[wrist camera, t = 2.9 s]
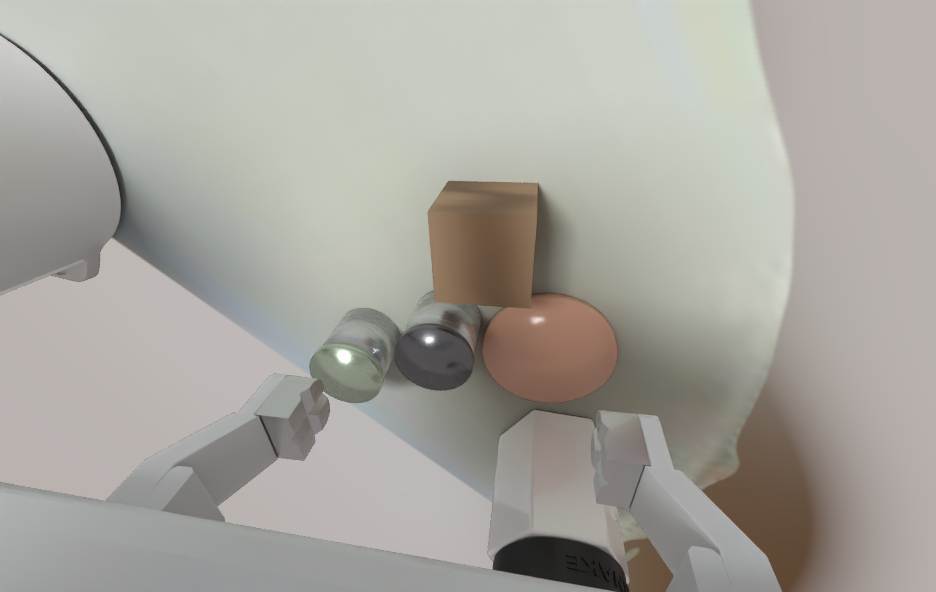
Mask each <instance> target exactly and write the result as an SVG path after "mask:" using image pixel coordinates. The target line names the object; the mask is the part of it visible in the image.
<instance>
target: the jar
mask: <svg viewBox="0 0 936 592" xmlns="http://www.w3.org/2000/svg"><path fill="white" fill-rule="evenodd" d="M595 428H596V427H595V425H594V423H593V421H592V420H591V419H588V418H582V417H576V416H570V415H564V414H558V413H552V412H546V411H540V410H532V411H531V412H530V413H529V414H527V415H526V416H525V417H524V418H522V419H521V420H520V421H519V422H517V423H516V424H515V425H514V426H512V427H511V428H510V429H509V430H507V431H506V432H505V433H504V434H502V435H501V436H500V438H499V446H498V456H497V465H496V475H495V485H494V494H493V504H492V514H491V523H490V533H489V543H488V556H489V557H490V558H491V560H492V561H493V570H496V571H502V572H508V573H513V574H519V575H524V576H530V577H536V578H541V579H547V580H552V581H558V582H564V583H569V584H575V585H581V586H586V587H592V588H598V589H603V590H609V591H614V592H629V587H628V586H627V584H628V583H629V575H628V569H627V563H626V557H625V551H624V545H623V539H622V533H621V527H620V521H619V515H618V509H617V507H614V506H609V505H603V504H597V503H596V498H595V489H594V481H593V479H594V475H595V471H596V469H595V468H594V467H593V466H592V462H591V438H592V432H593V430H594V429H595Z"/></svg>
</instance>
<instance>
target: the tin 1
mask: <svg viewBox="0 0 936 592" xmlns="http://www.w3.org/2000/svg"><path fill="white" fill-rule="evenodd" d="M399 339H400V333H399V330H398V328H397V326H396V325H395V324H394V322H393V321H392V320H391V319H390V318H389V317H387V316H386V315H384V314H383V313H381V312H379V311H376V310H373V309H369V308H357V309H353V310H351V311H349V312H348V313H347V314H345V316H344V317H343V318H342V320H341V321H340V322H339V324H338V325H337V326H336V328H335V329H334V331H333V332H332V333H331V335H330V336H329V338H328V339H327V340H326V342H325V343H324V344H323V346H321V347H320V348H319V349H318V350H317V351H316V353H315V354H314V355H313V357H312V359H311V361H310V365H309V368H310V374H311V376H312V378H314V379H319V380H322V381H323V384H324V387H325V389H324V390H323V391H324V392H326V393H327V394H329V395H330V396H332V397H334V398H336V399H338V400H341V401H345V402H350V403H362V402H367V401H369V400H371V399H373V398H374V397H375V396H376V395H377V394H378V393H379V391H380V389H381V386H382V384H383V381H384V376H385V374H386V372H387V370H388V368H389V366H390V364H391V362H392V359H393V357H394V351H395V347H396V345H397V343H398V341H399Z"/></svg>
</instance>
